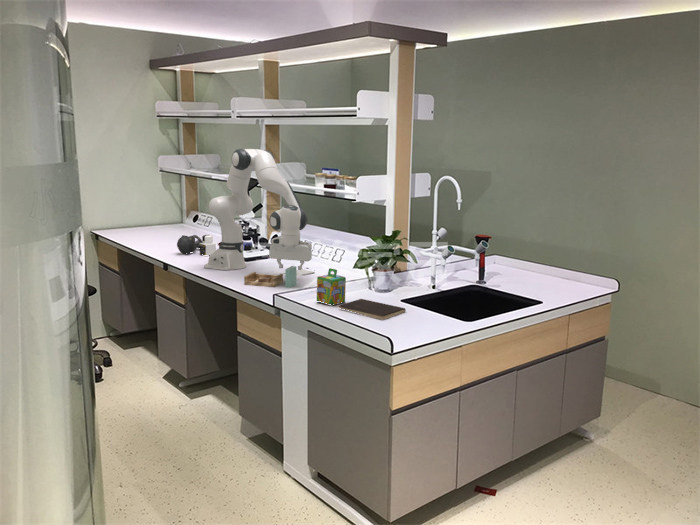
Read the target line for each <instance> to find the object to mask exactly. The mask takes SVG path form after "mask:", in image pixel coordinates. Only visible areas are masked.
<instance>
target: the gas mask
mask: <svg viewBox="0 0 700 525" xmlns="http://www.w3.org/2000/svg"><path fill="white" fill-rule="evenodd" d="M200 243H203V242H202V237H200V236H198V235H196V234H193V235H190V236H188V235H183V234H182V235H181V236H180V237H179V238H178V240H177V242H176V247H177V249H178V251H179V252H180V253H181V254H182V255H185V254H186V253H190V252H193V253H195V252H196V251H197V249H199V248H200Z"/></svg>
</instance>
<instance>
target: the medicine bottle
mask: <svg viewBox="0 0 700 525" xmlns="http://www.w3.org/2000/svg"><path fill="white" fill-rule="evenodd" d="M201 240H202V242H203V243H200V249H199V255H200V254H203V255H211V254H212V253H214V252H215V251H216V250H217V244H216V243H215V242H214V238H213V235H211V234H204V235H202V237H201ZM203 255H202V256H203Z"/></svg>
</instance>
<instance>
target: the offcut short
mask: <svg viewBox="0 0 700 525" xmlns="http://www.w3.org/2000/svg"><path fill="white" fill-rule="evenodd" d="M270 281H271V278H268V277H260V278H259V279H258V282H270Z"/></svg>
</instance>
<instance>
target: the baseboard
mask: <svg viewBox="0 0 700 525" xmlns="http://www.w3.org/2000/svg"><path fill="white" fill-rule="evenodd" d="M308 269H309V270H308ZM280 274H283V275H285V272H282V273H280ZM314 274H315V270H313V271H312V270H310V268H309V267H304V269H303V268H302V270H298V269H296V276H304V277H305V276H310V275H314Z"/></svg>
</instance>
